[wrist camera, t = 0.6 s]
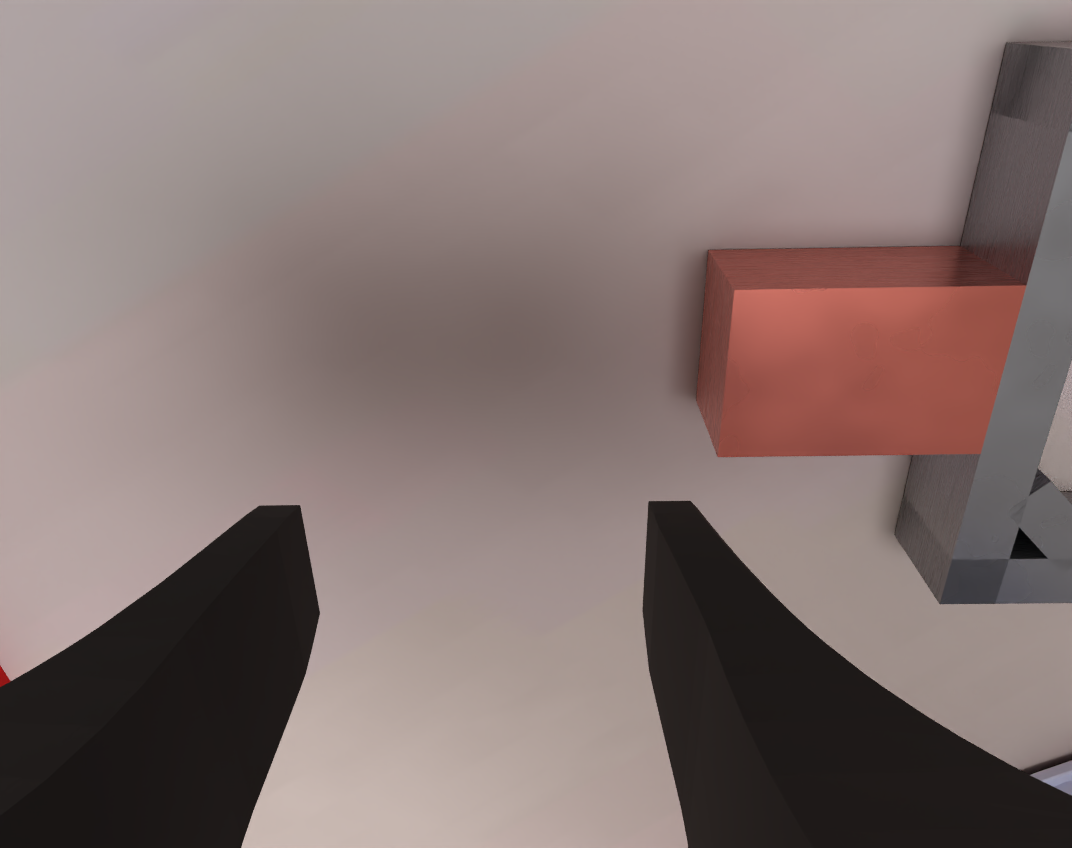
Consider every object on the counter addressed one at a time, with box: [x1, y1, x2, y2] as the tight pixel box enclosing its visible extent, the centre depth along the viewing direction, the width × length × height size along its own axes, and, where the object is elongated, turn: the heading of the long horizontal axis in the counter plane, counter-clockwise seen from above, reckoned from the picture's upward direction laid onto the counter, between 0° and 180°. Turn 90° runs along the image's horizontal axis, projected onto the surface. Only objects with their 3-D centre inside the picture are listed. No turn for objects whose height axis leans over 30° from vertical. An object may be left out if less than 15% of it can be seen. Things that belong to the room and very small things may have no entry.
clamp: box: [696, 41, 1072, 604], centre depth 19 cm, size 15×13×3 cm
